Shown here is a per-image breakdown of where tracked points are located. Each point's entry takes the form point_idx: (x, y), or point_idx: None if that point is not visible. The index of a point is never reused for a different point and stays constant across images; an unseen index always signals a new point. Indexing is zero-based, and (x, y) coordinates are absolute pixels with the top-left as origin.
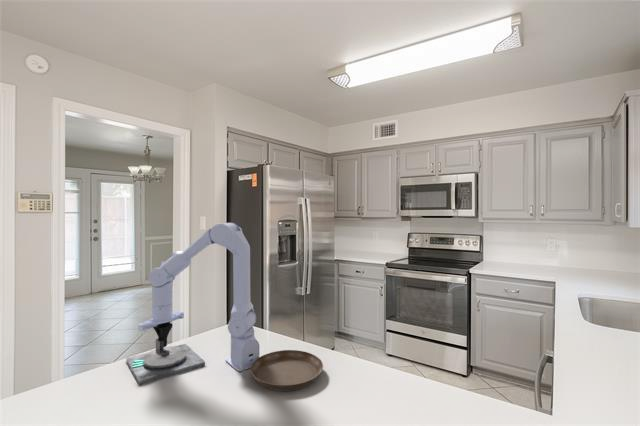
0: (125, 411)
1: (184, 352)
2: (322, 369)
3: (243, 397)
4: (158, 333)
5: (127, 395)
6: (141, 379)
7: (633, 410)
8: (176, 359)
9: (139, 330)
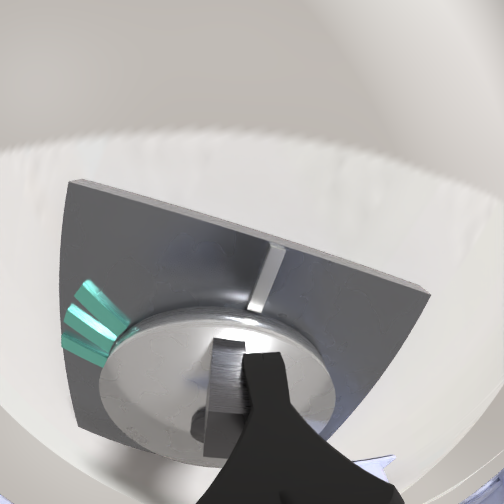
0: (55, 444)
1: None
2: None
3: None
4: (249, 453)
5: (55, 419)
6: (84, 426)
7: None
8: (218, 467)
9: (5, 499)
